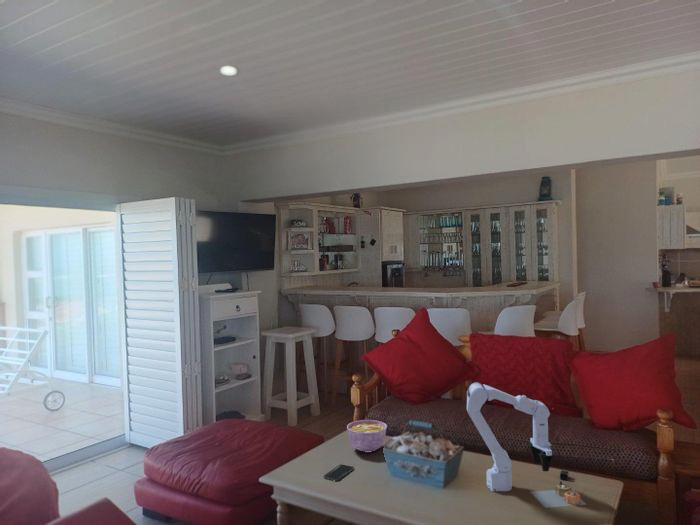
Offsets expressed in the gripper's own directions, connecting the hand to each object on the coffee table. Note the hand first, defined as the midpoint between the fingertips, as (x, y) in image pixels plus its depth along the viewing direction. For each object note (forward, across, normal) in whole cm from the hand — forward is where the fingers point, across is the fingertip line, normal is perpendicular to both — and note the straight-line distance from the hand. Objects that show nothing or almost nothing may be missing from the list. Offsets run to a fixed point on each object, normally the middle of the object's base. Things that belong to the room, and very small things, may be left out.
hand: (541, 466), depth 207 cm
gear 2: (+8, -12, -6) cm, 16 cm away
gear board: (+10, -9, -2) cm, 14 cm away
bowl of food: (+10, +56, +63) cm, 85 cm away
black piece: (+11, +7, -13) cm, 18 cm away
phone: (+10, +30, +79) cm, 85 cm away
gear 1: (+8, -6, -6) cm, 12 cm away
